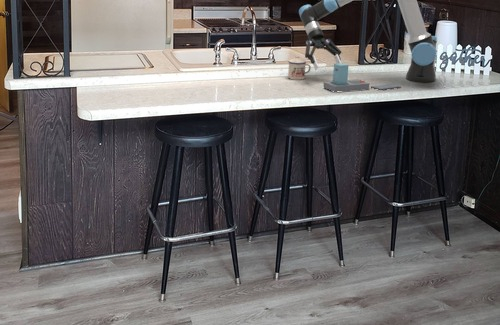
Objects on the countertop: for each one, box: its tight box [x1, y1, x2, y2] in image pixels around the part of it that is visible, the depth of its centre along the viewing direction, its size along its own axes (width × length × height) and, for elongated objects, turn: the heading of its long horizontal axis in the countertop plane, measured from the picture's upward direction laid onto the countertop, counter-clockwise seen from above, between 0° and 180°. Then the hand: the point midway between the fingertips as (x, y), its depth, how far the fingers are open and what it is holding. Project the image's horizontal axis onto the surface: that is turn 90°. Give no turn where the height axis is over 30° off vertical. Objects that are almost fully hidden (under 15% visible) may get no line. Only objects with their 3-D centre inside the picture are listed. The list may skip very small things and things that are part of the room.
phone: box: [370, 83, 402, 91], centre depth 321 cm, size 14×7×1 cm, turn 122°
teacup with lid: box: [287, 55, 312, 81], centre depth 335 cm, size 12×9×12 cm
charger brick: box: [332, 62, 349, 85], centre depth 313 cm, size 5×5×11 cm
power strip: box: [322, 78, 371, 93], centre depth 316 cm, size 20×10×4 cm, turn 116°
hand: (328, 67), depth 322 cm, fingers open, 13 cm apart
